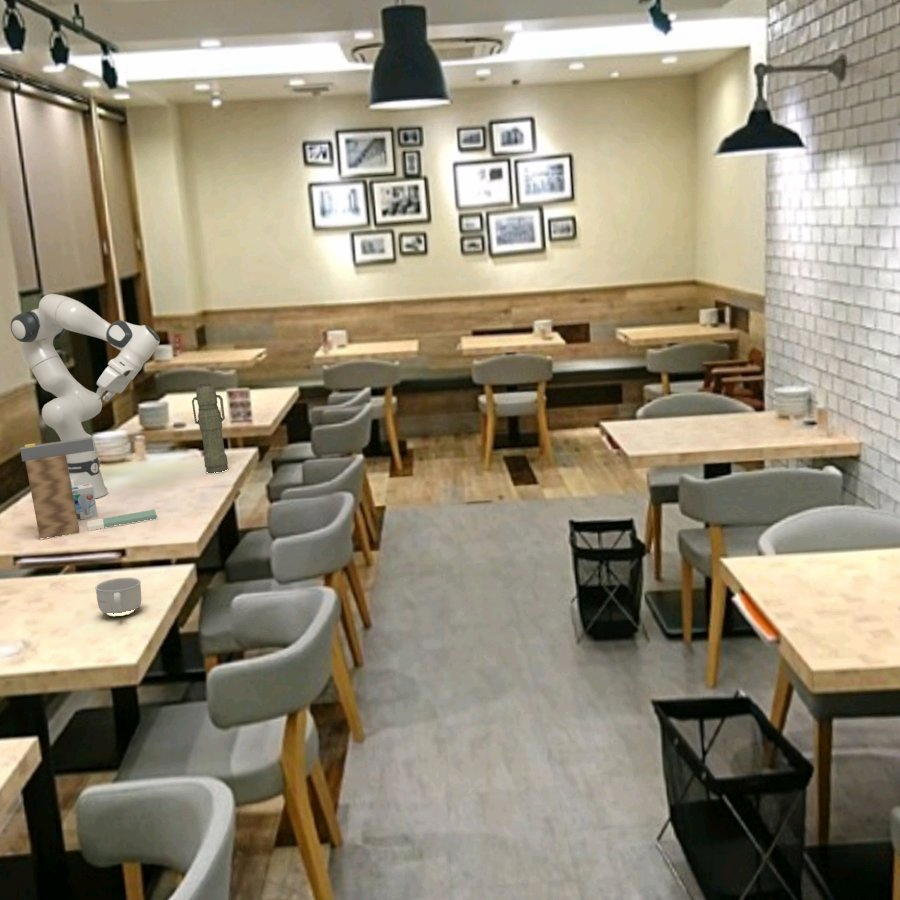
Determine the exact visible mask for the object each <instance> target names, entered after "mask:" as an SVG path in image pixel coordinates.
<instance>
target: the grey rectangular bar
mask: <svg viewBox="0 0 900 900" xmlns="http://www.w3.org/2000/svg"><path fill="white" fill-rule="evenodd" d="M92 437H93V436H92ZM92 437H86V438H80V439H73V440H66V441H61V440H60V441H54V442H53V441H52V442H46V443H40V444H36V443H28V444H24V446H21V447H20V448H19V450H20V454H21V455H20V456H21V461H22V462H26V461H29V460H36V459H42V458H49V457H55V456H62V455H69V454H75V453H82V452H88V451H94V445H93V440H92Z"/></svg>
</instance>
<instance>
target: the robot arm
mask: <svg viewBox="0 0 900 900" xmlns="http://www.w3.org/2000/svg"><path fill="white" fill-rule="evenodd" d="M10 331H11V334H12V335H13V337H14V338H15V339H16V340H17V341H18V342H21V343H22V345H21V350H22V354H23V355H24V358H25V360H26V363H27V365H28V367H29V368H30V370H31V373H32V374H33V375H34V377H35V379H36V380H37V382H38V385H40V387H41V388H42V390H44V391H45V392H49V393H51V394H52V395H53V396H55V397H56V398H53V399H52V400H50V401H48V402H47V403H45V404H44V405H43V407H42V409H41V416H42V419H43V421H44V423H45V425H47V426H48V427H49V428H52V429H53V430H54V431H55V433H56V434H57V435H58V437H59V439H60V441H66V440H73V439H80V438H86V437H92V440H93V445H94V451H88V452H82V453H75V454H69V455H66V459H67V464H68V470H69V475H70V481H71V487H74V486H79V485H85V484H91V485H92V486H93V490H94V496H95V499H98V498H102V497H105V496H106V495H107V494H108V493H109V492H108V489H107V487H106V485H105V483H104V479H103V476H102V472H101V470H100V467H101V465H100V460H99V457H98V456H97V449H96V444H95V439H94V437H93V436H92V435H91V434H89V433H87V432H86V431H85V428H84V427H83V425H82V422H86V421H90V420H92V419H93V418H95V417H97V415H99V414H100V413H101V411H102V408H103V403H102V401H104V402H109V401H110V399H111V398H112V397H114V396H115V395H116V394H122V393H123V392H124V391H125V390H126V388H127V386H128V385H129V384H130V382H131V381H132V380H134V379H135V377H136V376H137V375H138V373H139V372H140V371H141V370H142V369H143V366H144V364H145V363H146V362H147V361H148V360H150V358H151V357H152V355H153V354H155V352H156V350H157V349H158V347H159V345H160V341H161V339H160V336H159V334H158V333H157V332H156V331H155V330H153V328H152V327H150V326H148V325H145V324H142V325H138V324H133V323H130V322H127V321H124V320H120V319H119V320H115V321H114V322H112V323H110V322H108V321H107V320H106V319H103V317H101V316H100V315H99V314H97V313H96V312H95V311H94V310H92V309H91V308H89V307H88V306H87V305H86V304H84V303H82V302H81V301H79V300H76V299H74V298H72V297H69V296H66V295H63V294H62V295H61V294H55V293H48V294H46V295H44V296H43V297H42V298H41V299H40V301H39V302H38V308H35V309H32V310H27V311H23V312H21V313H19V314H16V315H15V316H14V317H13V318H12V319H11V321H10ZM67 331H69V332H74V333H76V334H77V333H78V334H82V335H86V336H89V337H93V338H97V339H100V340H103V341H105V342H107V343H109V344H110V345H111V346H112V347H113V348H116V349H117V350H119V351H120V352H119V353H118V355H117V356H116V357H114V358H112V359H110V360H109V361H108V363H107V365H108V366H107V367H105V369H104V370H103V372H101V373H102V374H101V375H100V376H99V378H98V379H97V381H96V385H97V386H98V388H97V390H96V392H94V391H91V390H89V389H88V388H86V387H85V386H83V385H82V384H81V383H80V382H79V381H77V379H75V377H73V375H72V374H71V373H70V371H69V370H68V368H67V366H66V365H65V364H64V361H63V360H62V359H61V357H60V354H58V352H57V351H56V349H55V346H54V340H55V341H57V340H60V339H61V337H62V335H63V334H64V333H65V332H67ZM106 391H108V392H107V393H106V394H105V395H103V394H104V393H105V392H106ZM101 398H102V399H101Z"/></svg>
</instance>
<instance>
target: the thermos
mask: <svg viewBox="0 0 900 900" xmlns="http://www.w3.org/2000/svg"><path fill="white" fill-rule="evenodd" d="M195 395H196V396H194V397H193V398H192V400H191V404H192V411H193V413H192V414H193V417H194V418H193V419H194V423H195V424H198V427H199V430H200V433H201V438H202V444H203V451H204V457H203V460H204V467H205V472H208V473H214V472H215V473H216V472H222V471H225V470H227V469H228V470H229V467H228V464H229V463H228V461H229V460H228V456H227V454H226V451H225V445H224V438H223V437H224V436H223V431H222V429H223V422H224V420H225V419H226V416H225V408H224V400H223V397H222V396H221V395H220V394H217V393H216V389H215V386H214V385H213V384H212V383H201V384H199V385H197V386H196V390H195ZM218 399H219V403H220V410H219V406H218ZM195 401H197V406H198V415H197V414H196V406H195ZM220 411H221V412H220ZM197 418H198V420H197ZM208 473H207V474H208ZM222 473H223V472H222ZM216 474H217V473H216Z"/></svg>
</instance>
